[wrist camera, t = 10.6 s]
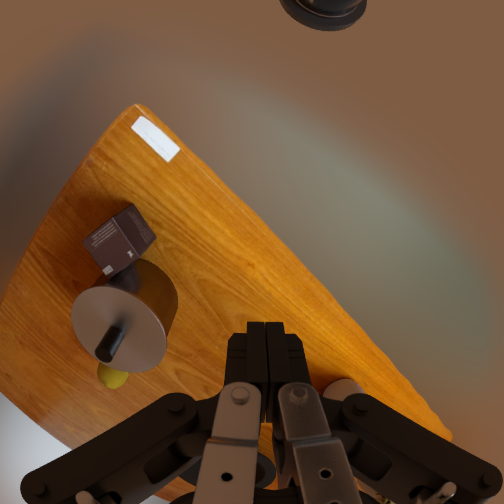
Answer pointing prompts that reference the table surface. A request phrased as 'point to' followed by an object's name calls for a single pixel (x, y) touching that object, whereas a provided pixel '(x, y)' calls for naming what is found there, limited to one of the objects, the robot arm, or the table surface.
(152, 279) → the pot
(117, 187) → the table surface
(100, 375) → the lemon
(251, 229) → the table surface
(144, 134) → the table surface
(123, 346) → the pot lid
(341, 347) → the table surface
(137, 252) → the box
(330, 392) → the mug
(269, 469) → the plate
